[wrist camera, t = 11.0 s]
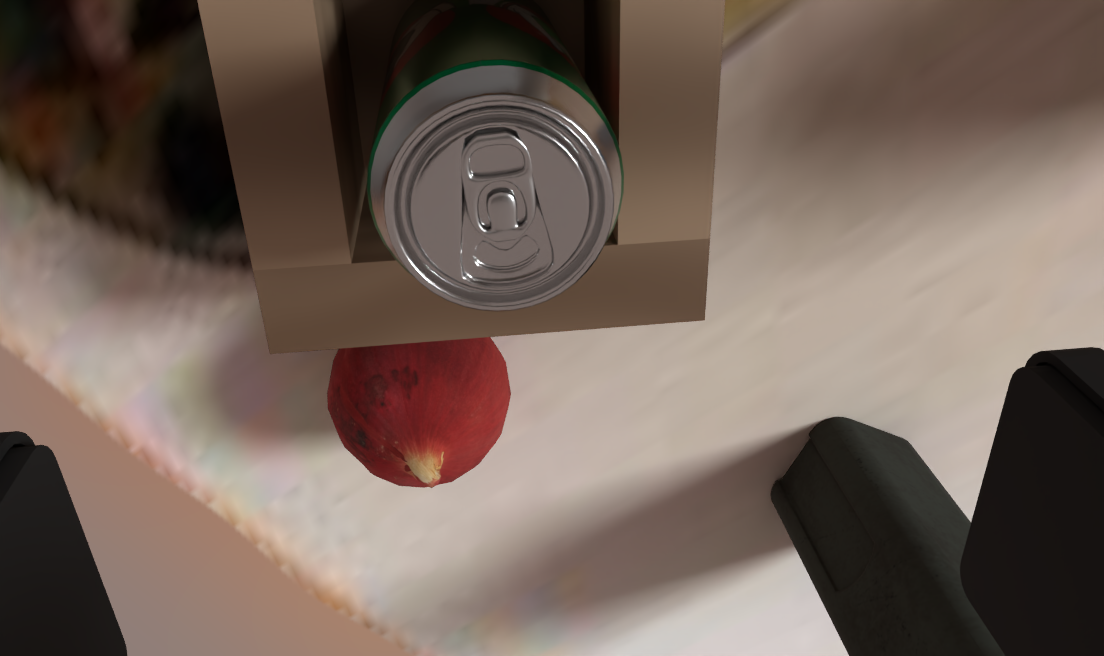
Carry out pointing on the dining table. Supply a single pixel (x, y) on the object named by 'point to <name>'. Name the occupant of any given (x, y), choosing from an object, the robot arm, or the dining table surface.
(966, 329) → the dining table surface
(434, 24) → the soda can
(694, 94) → the well block
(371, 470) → the onion
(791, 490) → the black handled stick
